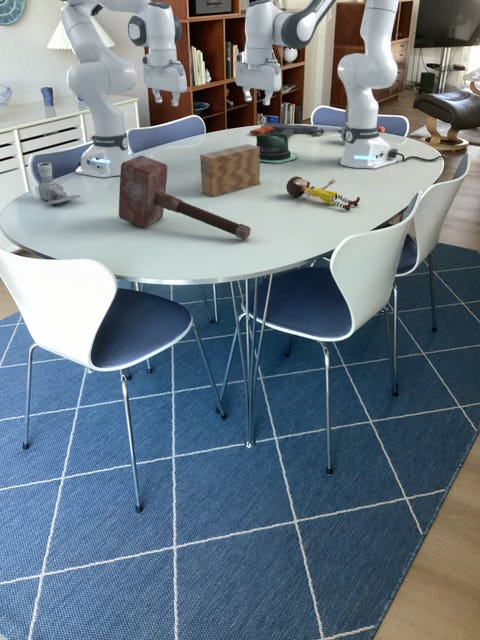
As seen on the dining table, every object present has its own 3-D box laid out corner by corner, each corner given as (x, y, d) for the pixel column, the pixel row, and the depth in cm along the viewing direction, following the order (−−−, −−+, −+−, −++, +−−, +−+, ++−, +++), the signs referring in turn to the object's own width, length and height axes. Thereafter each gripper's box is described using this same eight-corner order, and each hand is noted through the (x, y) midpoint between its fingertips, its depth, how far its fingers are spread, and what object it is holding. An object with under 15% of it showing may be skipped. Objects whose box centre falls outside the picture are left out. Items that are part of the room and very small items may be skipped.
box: (213, 197, 186) (211, 158, 180) (202, 193, 190) (200, 154, 184) (259, 183, 198) (259, 146, 192) (248, 180, 202) (248, 144, 195)
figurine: (345, 200, 166) (278, 176, 178) (341, 223, 170) (275, 198, 182) (367, 189, 174) (301, 166, 186) (362, 211, 179) (298, 188, 191)
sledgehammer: (261, 199, 150) (139, 153, 161) (245, 210, 142) (119, 161, 154) (249, 254, 160) (136, 207, 171) (234, 267, 153) (116, 217, 164)
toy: (345, 120, 249) (377, 123, 242) (343, 139, 253) (375, 143, 246) (337, 123, 243) (369, 127, 236) (336, 143, 247) (367, 147, 240)
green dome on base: (302, 149, 235) (294, 163, 219) (265, 168, 244) (254, 183, 227) (286, 117, 230) (276, 128, 213) (248, 137, 238) (236, 150, 222)
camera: (50, 159, 186) (76, 167, 177) (57, 193, 192) (81, 203, 184) (27, 164, 181) (51, 173, 172) (34, 199, 187) (58, 209, 178)
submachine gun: (243, 132, 260) (267, 122, 278) (243, 138, 261) (267, 127, 280) (305, 138, 246) (326, 127, 265) (305, 144, 248) (326, 133, 266)
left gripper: (190, 60, 175) (192, 106, 182) (154, 56, 188) (158, 99, 195) (173, 62, 171) (177, 109, 178) (138, 58, 185) (142, 102, 192)
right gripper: (287, 59, 174) (284, 106, 181) (246, 55, 188) (245, 98, 195) (271, 60, 171) (270, 107, 177) (231, 55, 185) (231, 100, 191)
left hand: (166, 104), depth 187 cm, fingers open, 8 cm apart
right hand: (257, 103), depth 186 cm, fingers open, 8 cm apart
